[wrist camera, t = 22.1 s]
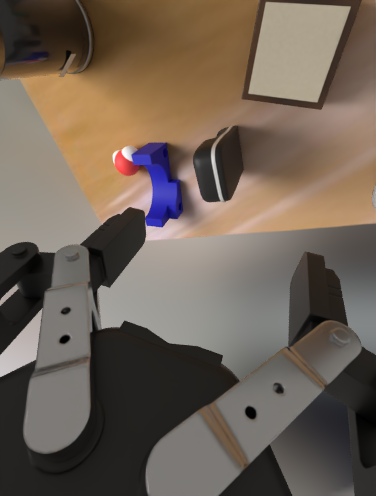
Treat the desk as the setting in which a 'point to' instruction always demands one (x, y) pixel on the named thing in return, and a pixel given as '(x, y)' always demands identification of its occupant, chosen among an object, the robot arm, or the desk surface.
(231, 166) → the battery charger
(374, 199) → the lightbulb
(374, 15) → the desk surface
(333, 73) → the walnut base
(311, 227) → the desk surface
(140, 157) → the cable clip
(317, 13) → the cream block
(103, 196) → the desk surface
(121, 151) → the molecule
